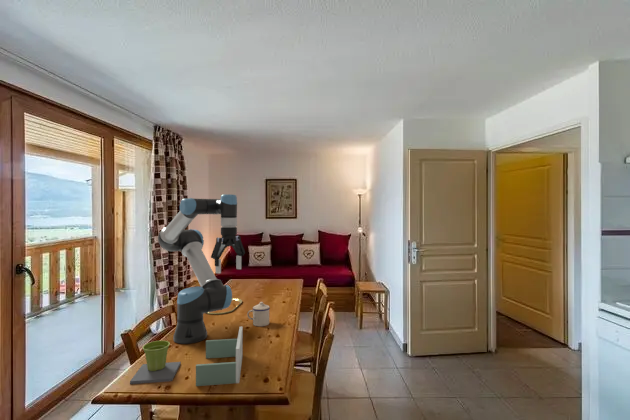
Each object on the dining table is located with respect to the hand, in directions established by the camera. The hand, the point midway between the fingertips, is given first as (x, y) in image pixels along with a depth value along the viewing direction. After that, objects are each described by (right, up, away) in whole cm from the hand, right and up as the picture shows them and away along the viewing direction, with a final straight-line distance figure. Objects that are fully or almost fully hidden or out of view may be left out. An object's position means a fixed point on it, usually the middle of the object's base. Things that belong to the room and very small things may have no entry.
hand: (228, 271), depth 169 cm
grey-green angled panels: (+5, -32, -34) cm, 47 cm away
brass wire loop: (-16, -32, +54) cm, 65 cm away
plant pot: (-19, -31, -35) cm, 50 cm away
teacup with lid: (+11, -32, +20) cm, 39 cm away
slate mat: (-18, -32, -38) cm, 52 cm away
